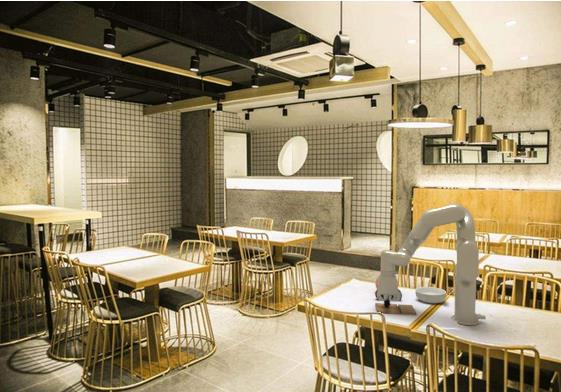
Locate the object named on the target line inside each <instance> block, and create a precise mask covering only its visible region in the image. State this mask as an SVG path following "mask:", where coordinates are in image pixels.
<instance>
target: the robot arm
mask: <svg viewBox="0 0 561 392" xmlns="http://www.w3.org/2000/svg"><path fill="white" fill-rule="evenodd" d="M454 223H455V228H456V245H455V249H456V264H455V269H454V271H455V272H454V275H455V278H454V279H455V282H454V283H455V284H454V286H455V287H454V315H451V316H450V318H451V320H452V321H454V322H456V323H458V324H459V325H463V326H477V325H478V324H479V320H486V318H487V317H486V315H482V314H480V313H476V304H477V303H476V301H477V300H476V298H477V278H478V277H479V273H480V271H479V269H480V268H479V263H480V262H479V261H480V259H479V258H480V256H479V255H480V253H479V248H478V245H477V242H476V224H475V220H474V216H473V215H472V213H471V211H469V210H468V208H466V207H465V206H463V205H462V204H460V203H457V202H452V203H450V204H448V205H447V206H443V207H440V208H435V209H432V208H428V209H426V210H424V212H422V214H421V216H420V217H419V219H418V220H417V222H416V223H415V224H414V226H413V227H412V229H411V230H410V232H409V234H408V236H407V237H406V238H405V240H404V241H403V243H402V245H401V246H400V248H399V249H398V251H396V252H395V251H394V250H392V249H382V250H381V251H380V274H378V276H379V277H378V276H377V277H378V285H377V288H376V290H377V291H378V292H377V296H380V297H382V298H383V299H384V301H383V303H384V306H385V307H386V308H389V306H390V304H391V301H390V300H391V299H392V298H393V297H397V296H398V295H397V281H398V279H397V275H398V274H399V271H396V266H398V267H407V266H408V265H409V264H410V262H411V258H412V257H413V256H414V255H415V253H416V251H417V250H418V249H419V247H421V245H423V244H424V243H425V242H426V240H428V238H429V236H430V235H431V233H432V232H433V230H434V229H435V228H436V227H440V226H445V225H450V224H454ZM386 295H388V298H387V299H386Z"/></svg>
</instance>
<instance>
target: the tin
mask: <svg viewBox="0 0 561 392" xmlns="http://www.w3.org/2000/svg"><path fill="white" fill-rule="evenodd" d="M377 292H378V291H377V289H376V291H375V292H374V295H375V298H376V299H377V301H383V302H384V299H383V298H382V297H380V296H377ZM397 295H398V296H397V297H393V298H392V299H391V300H390V302H391V301H392V302H401V300H402V298H403V294H402V292H401V290H400V289H399V287H398V288H397ZM387 298H388V295H386V299H387Z"/></svg>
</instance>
